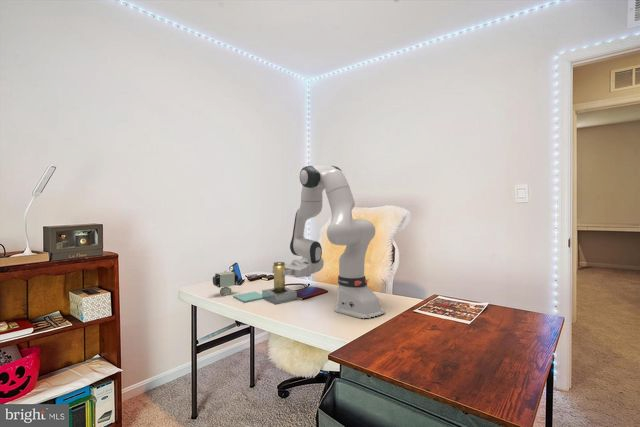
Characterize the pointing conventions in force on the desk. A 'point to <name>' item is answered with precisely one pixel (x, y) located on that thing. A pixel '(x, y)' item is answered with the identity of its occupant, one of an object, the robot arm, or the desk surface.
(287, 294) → the housing
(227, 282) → the pneumatic valve
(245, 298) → the pad
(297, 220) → the robot arm
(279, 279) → the brass cylinder
